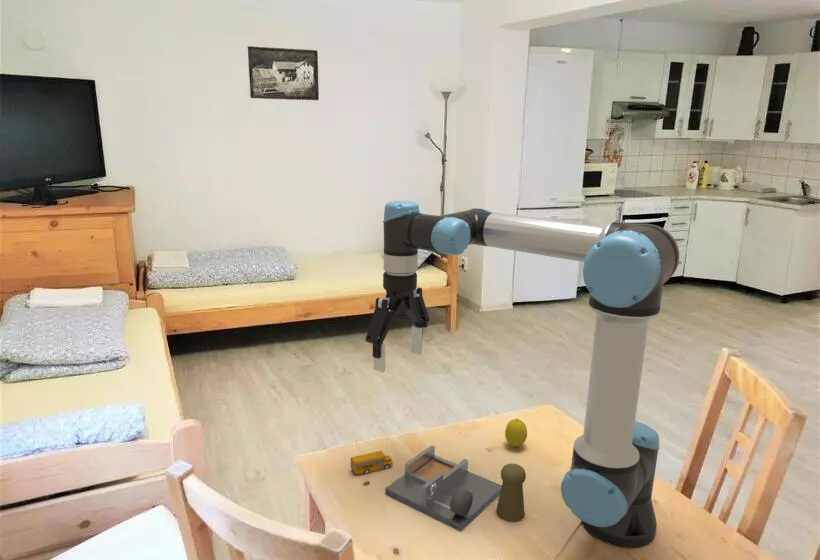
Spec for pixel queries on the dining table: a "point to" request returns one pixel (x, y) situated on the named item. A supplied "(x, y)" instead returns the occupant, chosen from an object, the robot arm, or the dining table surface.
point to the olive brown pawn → (511, 493)
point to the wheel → (461, 502)
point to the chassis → (441, 488)
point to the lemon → (516, 432)
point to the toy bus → (370, 462)
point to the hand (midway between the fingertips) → (398, 361)
